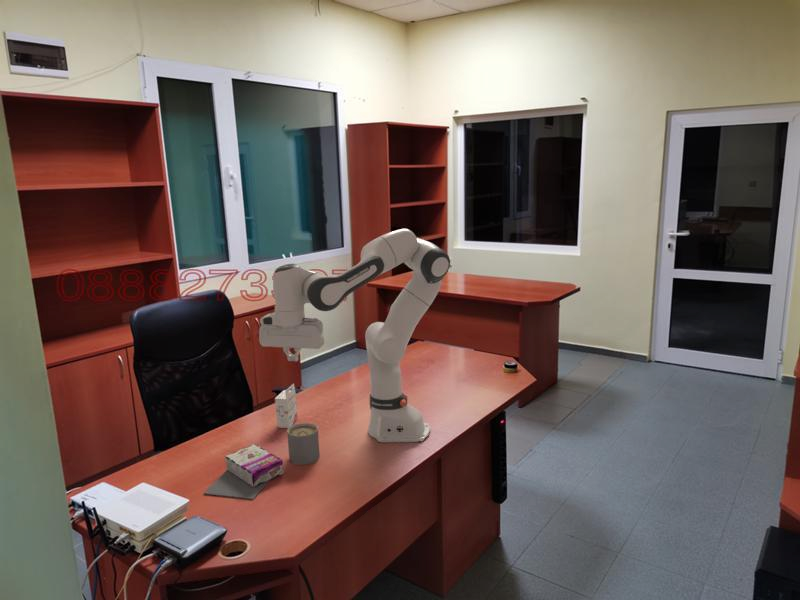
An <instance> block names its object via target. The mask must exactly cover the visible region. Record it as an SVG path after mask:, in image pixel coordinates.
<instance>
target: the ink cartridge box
mask: <svg viewBox="0 0 800 600" xmlns="http://www.w3.org/2000/svg"><path fill="white" fill-rule="evenodd" d="M274 403H275V404H274V405H275V411H276V412H275V413H276V414H275V415H276V423H277V428H281V429H289V428H290V427H291V426H293V425H294V423H295V422H296V421H297V420H298V410H297V395H296V388H295V383H292V384H291V385H290V386H289V387H288V388H287V389H283V390H282V391H281V392H280V393H278V395H277V396H276V397H275V398H274Z"/></svg>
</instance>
